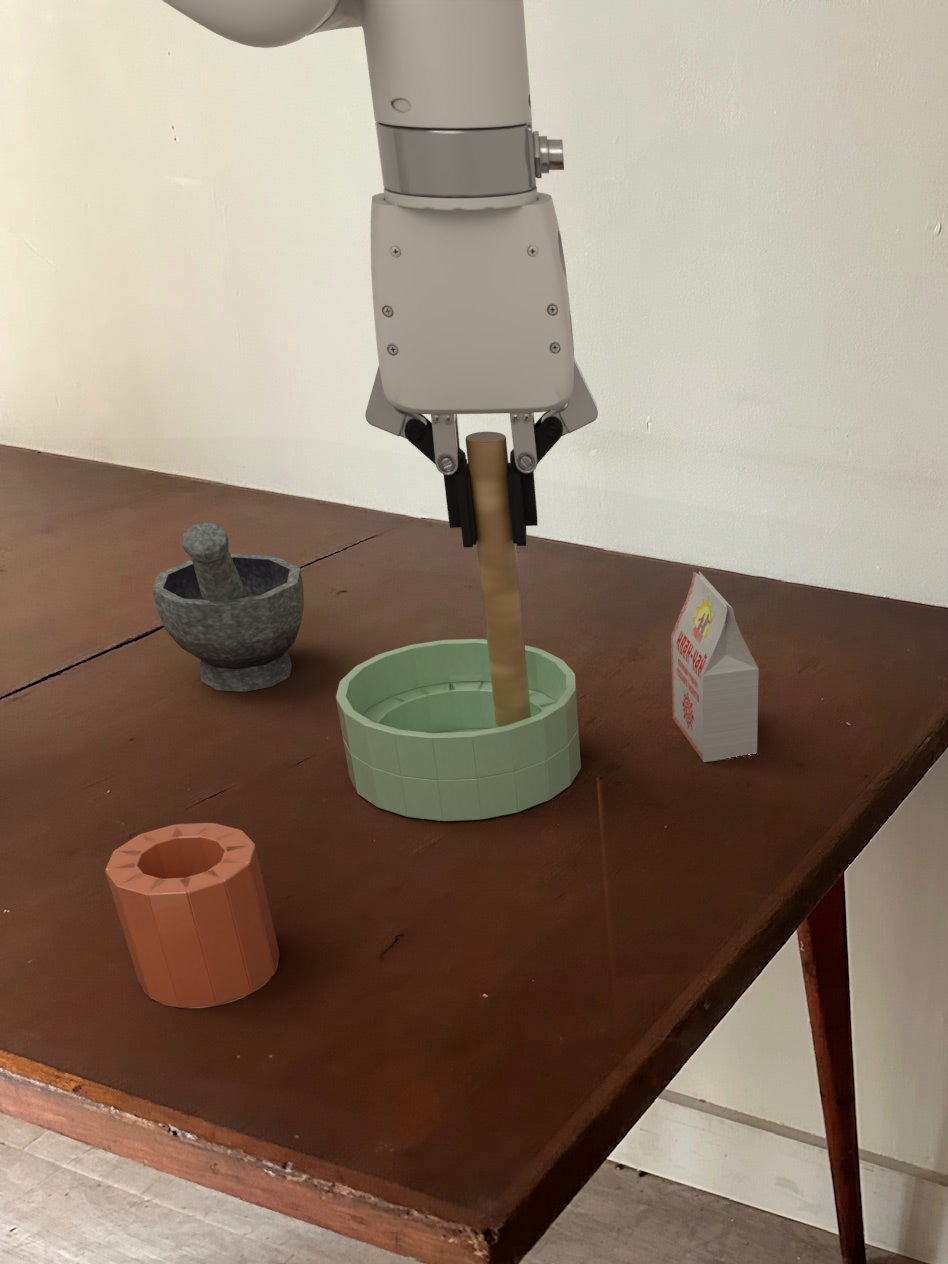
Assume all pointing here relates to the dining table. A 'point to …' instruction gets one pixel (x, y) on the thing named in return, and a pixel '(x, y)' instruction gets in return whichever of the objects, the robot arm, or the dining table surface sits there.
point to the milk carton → (713, 677)
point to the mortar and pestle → (231, 611)
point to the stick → (499, 576)
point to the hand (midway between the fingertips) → (495, 536)
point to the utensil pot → (194, 914)
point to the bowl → (456, 732)
